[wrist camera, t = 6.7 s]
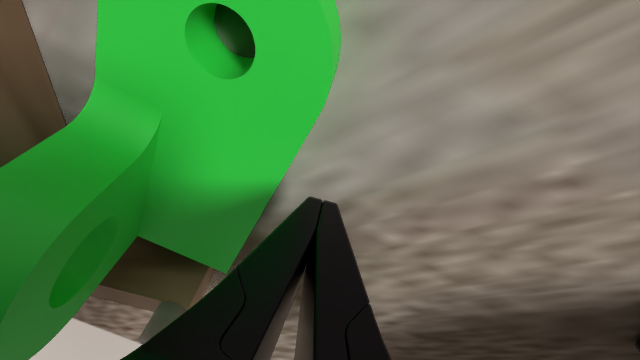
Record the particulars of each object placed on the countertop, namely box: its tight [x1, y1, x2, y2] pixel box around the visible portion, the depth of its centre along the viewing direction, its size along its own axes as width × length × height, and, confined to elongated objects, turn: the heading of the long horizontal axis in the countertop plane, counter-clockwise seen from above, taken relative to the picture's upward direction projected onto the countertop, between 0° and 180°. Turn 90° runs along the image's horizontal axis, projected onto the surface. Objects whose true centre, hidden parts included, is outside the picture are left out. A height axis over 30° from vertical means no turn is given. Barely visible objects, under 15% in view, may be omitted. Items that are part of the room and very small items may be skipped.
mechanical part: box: [0, 0, 341, 360], centre depth 9 cm, size 12×6×8 cm, turn 152°
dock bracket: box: [0, 0, 216, 344], centre depth 10 cm, size 7×18×4 cm, turn 169°
